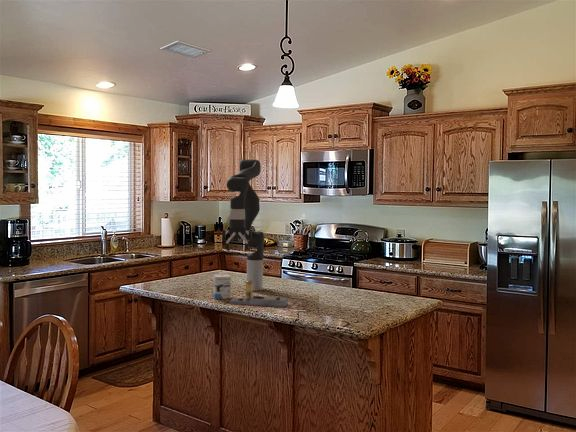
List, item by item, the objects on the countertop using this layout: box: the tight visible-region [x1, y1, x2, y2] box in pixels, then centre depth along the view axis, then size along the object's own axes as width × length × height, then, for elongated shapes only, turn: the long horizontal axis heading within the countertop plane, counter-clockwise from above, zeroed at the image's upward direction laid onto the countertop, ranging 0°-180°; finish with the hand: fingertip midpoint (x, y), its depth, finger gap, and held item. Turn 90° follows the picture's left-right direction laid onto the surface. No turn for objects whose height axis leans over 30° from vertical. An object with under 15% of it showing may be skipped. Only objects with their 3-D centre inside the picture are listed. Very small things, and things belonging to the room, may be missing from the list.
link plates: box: [229, 295, 289, 308], centre depth 261 cm, size 7×28×4 cm, turn 80°
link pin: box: [244, 280, 253, 299], centre depth 269 cm, size 4×4×10 cm
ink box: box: [212, 274, 232, 300], centre depth 274 cm, size 8×5×12 cm, turn 105°
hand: (237, 251), depth 255 cm, fingers open, 8 cm apart
